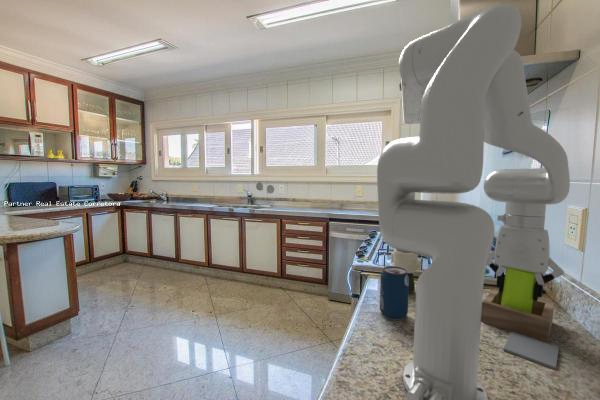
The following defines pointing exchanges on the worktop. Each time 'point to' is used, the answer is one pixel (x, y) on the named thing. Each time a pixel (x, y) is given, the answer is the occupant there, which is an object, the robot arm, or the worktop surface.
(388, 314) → the soda can
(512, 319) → the walnut stand
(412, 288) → the character mug
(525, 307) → the soap dispenser
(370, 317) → the worktop surface
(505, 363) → the worktop surface
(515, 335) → the rubber mat
